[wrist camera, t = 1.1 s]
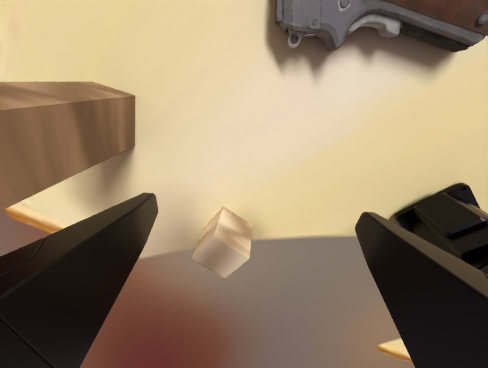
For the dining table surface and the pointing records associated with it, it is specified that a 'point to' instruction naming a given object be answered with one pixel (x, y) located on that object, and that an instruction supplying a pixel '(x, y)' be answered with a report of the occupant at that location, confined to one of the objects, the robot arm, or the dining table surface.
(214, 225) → the maple block
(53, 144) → the walnut block
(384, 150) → the dining table surface
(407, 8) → the handgun
